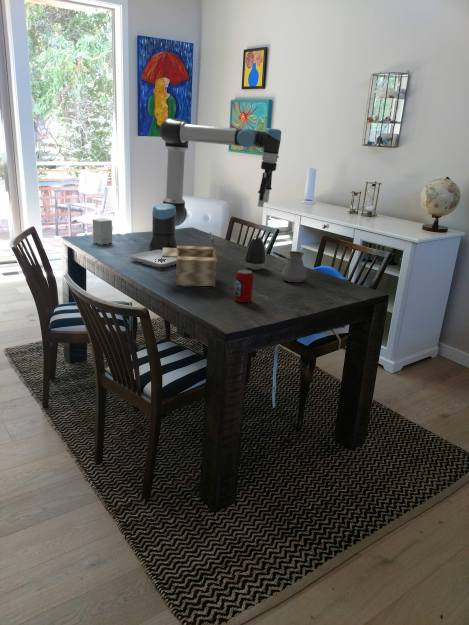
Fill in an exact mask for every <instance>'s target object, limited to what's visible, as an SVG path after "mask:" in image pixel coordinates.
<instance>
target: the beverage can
mask: <svg viewBox="0 0 469 625" xmlns="http://www.w3.org/2000/svg"><path fill="white" fill-rule="evenodd" d="M253 284H254V274H253V271H252V270H251V269H247V268H246V269H244V268H243V269H238V270H237V272H236V274H235V280H234V292H233V294H234V295H233V300H235V302H237V301H238V302H237V303H239V302H248V303H249V302H252V296H253Z"/></svg>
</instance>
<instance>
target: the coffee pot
mask: <svg viewBox="0 0 469 625" xmlns="http://www.w3.org/2000/svg"><path fill="white" fill-rule="evenodd" d="M288 253H289V256H290V257H287V256H285V255H283V254H281V253H278V252H277V251H273V252H271V254H274V255H273V257H275V256H278V258H282V259H283V260H287V262H286V264H285V265H284V268H283V269H282V271H281V273H280V274H281V277H282V279H284V281H285V280H286V281H288V282H287V283H289V282H301V283H302V282H304V281H305V280H306V279H307V277H308V275H307V272H306V268H305V265H304V262H303V256H304V252H302V251H297V250H296V251H294V250H293V251H292V250H291V251H289V252H288ZM286 281H285V282H286Z"/></svg>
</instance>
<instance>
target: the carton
mask: <svg viewBox="0 0 469 625" xmlns="http://www.w3.org/2000/svg"><path fill="white" fill-rule="evenodd" d="M162 257H173V258H177V264H176V266H175V267H176V268H175V269H176V273H175V274H176V275H175V277H176V278H175V282H176V283H175V284H176V285H188V286H187V287H190V286H214V287H213V288H216V277H217V276H216V275H217V263H219V262H218V258H216V254H215V251H214V247H213V246H198V245H197V246H196V245H178V246H177V248H163V251H162ZM176 285H175V286H176Z"/></svg>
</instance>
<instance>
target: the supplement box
mask: <svg viewBox="0 0 469 625" xmlns="http://www.w3.org/2000/svg"><path fill="white" fill-rule="evenodd" d="M112 223H113V221H112V220H111V219H108V218H103V217H102V218H94V219H92V235H93V236H92V239H93V242H94V244H96V243H98V244H97V245H99V244H101V245H100V246H104V245H103V244H107V245H110V244H109V243H112V244H113V224H112Z"/></svg>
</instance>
